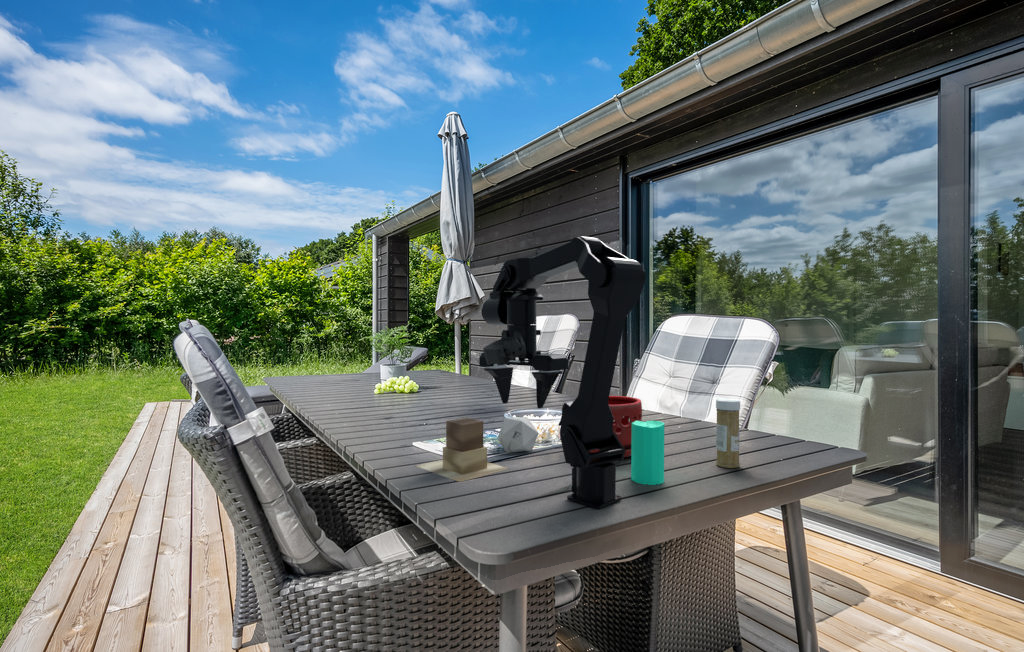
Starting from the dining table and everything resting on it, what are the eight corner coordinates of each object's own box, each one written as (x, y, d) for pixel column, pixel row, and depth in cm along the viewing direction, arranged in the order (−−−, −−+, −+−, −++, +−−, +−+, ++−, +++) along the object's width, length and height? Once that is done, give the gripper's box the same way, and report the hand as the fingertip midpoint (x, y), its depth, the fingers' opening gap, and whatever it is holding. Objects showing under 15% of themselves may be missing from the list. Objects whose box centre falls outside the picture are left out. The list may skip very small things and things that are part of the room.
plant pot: (607, 443, 126) (608, 393, 126) (654, 454, 116) (654, 399, 116) (568, 452, 118) (568, 398, 118) (614, 464, 108) (614, 405, 107)
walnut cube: (483, 447, 101) (483, 421, 101) (462, 452, 98) (462, 424, 97) (466, 443, 105) (466, 417, 104) (446, 447, 101) (446, 421, 101)
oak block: (487, 468, 101) (487, 447, 101) (462, 474, 97) (462, 452, 97) (467, 462, 105) (467, 442, 105) (442, 468, 101) (442, 447, 101)
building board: (509, 473, 101) (509, 468, 101) (459, 487, 93) (459, 481, 93) (463, 459, 111) (463, 454, 111) (414, 470, 103) (414, 465, 103)
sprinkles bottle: (742, 469, 105) (743, 401, 105) (719, 468, 105) (719, 400, 105) (735, 463, 109) (736, 397, 109) (712, 462, 110) (713, 397, 110)
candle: (668, 478, 99) (668, 413, 99) (659, 486, 94) (660, 419, 93) (636, 473, 102) (637, 410, 102) (626, 481, 97) (626, 415, 96)
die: (489, 455, 117) (495, 426, 111) (505, 430, 124) (512, 401, 118) (523, 471, 115) (531, 442, 109) (537, 444, 122) (546, 416, 116)
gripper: (458, 325, 103) (458, 405, 103) (529, 324, 90) (530, 416, 90) (499, 325, 111) (499, 399, 111) (569, 324, 98) (570, 408, 99)
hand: (522, 405), depth 103 cm, fingers open, 9 cm apart
